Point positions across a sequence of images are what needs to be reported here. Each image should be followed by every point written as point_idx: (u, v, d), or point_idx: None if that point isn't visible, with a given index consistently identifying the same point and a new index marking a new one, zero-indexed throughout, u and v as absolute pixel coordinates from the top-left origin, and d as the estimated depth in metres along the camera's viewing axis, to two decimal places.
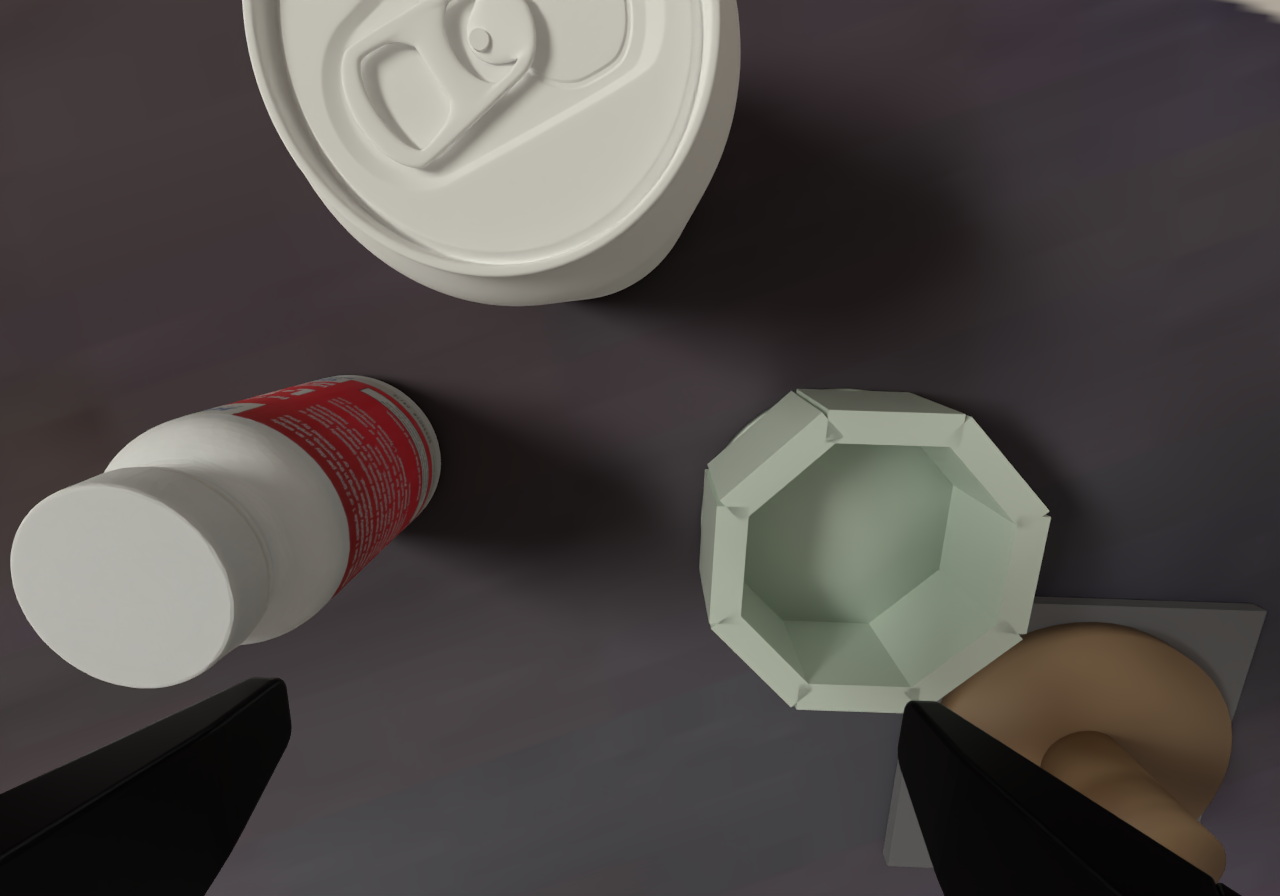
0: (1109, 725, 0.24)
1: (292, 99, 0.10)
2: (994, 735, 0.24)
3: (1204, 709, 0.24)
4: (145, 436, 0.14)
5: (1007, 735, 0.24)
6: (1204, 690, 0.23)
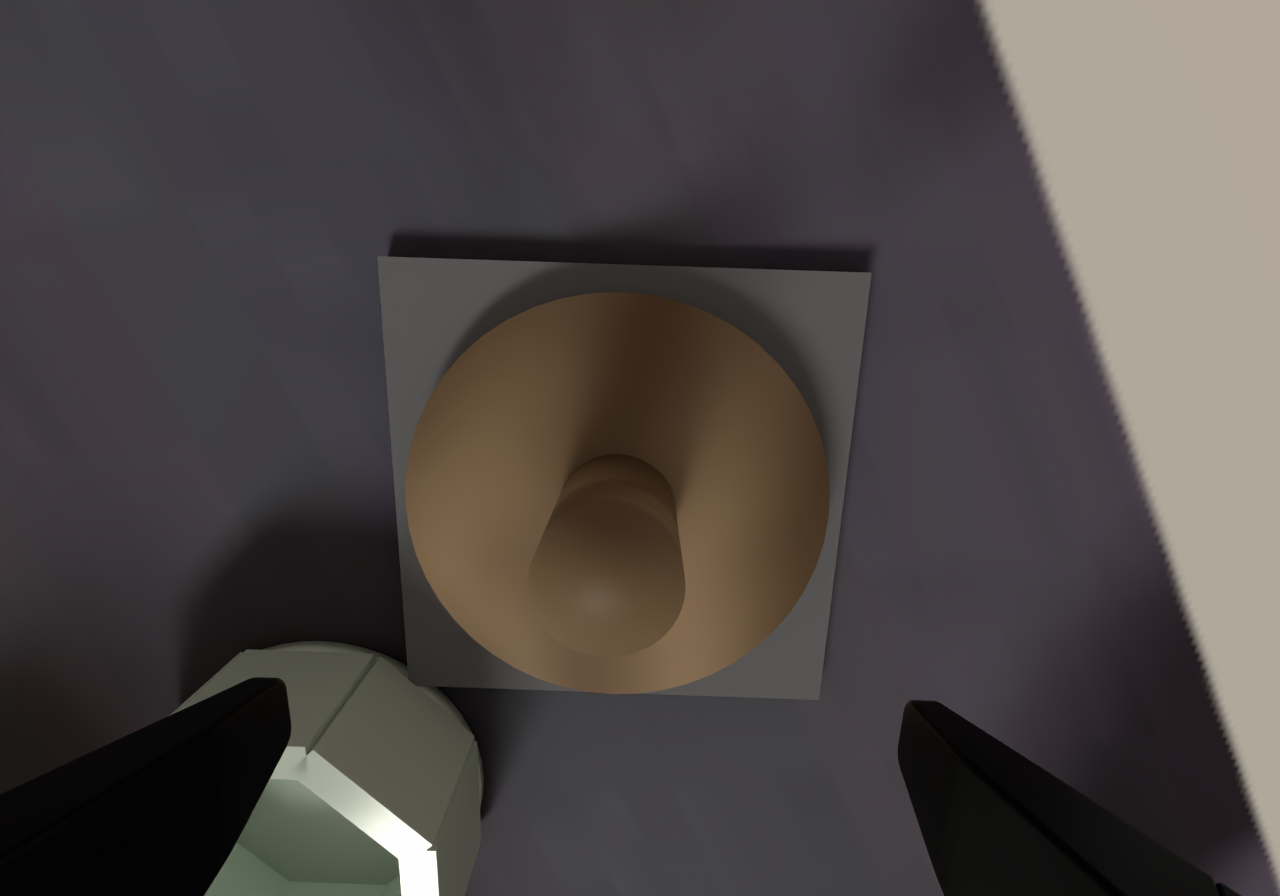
0: (548, 483, 0.16)
1: None
2: None
3: (513, 352, 0.16)
4: None
5: None
6: (481, 361, 0.16)
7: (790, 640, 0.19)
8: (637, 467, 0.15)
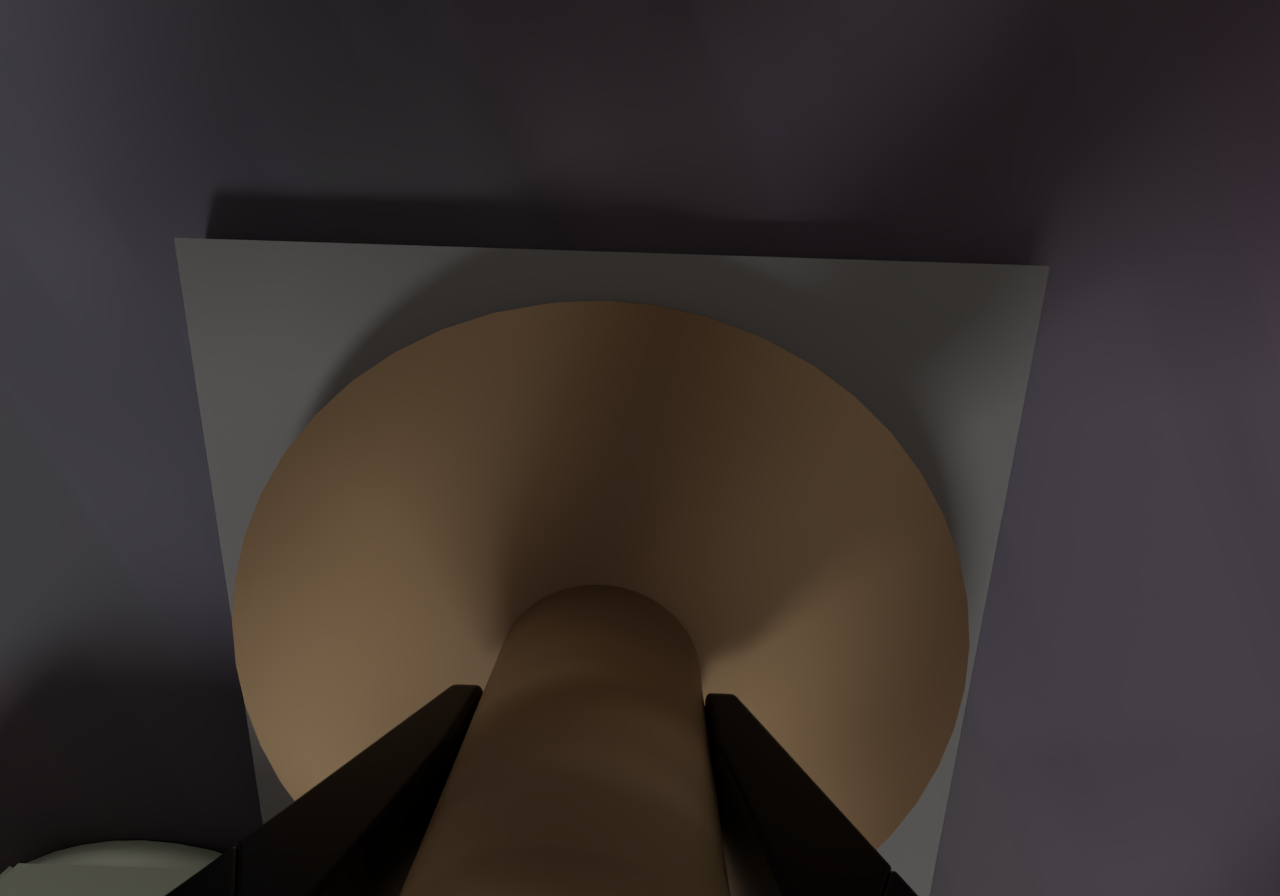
0: (480, 632, 0.10)
1: None
2: None
3: (408, 410, 0.09)
4: None
5: None
6: (352, 427, 0.09)
7: None
8: (633, 622, 0.08)
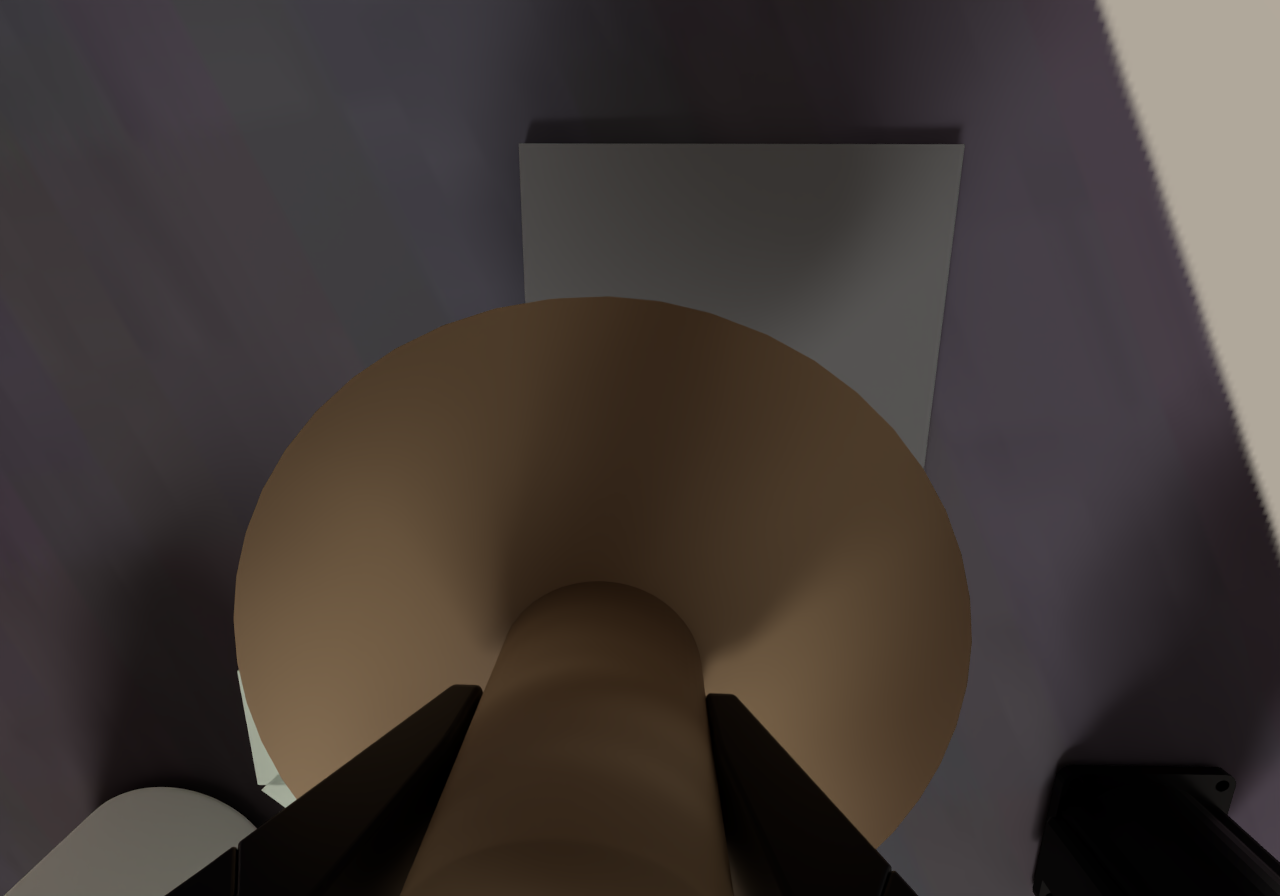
0: (481, 629, 0.09)
1: None
2: None
3: (410, 406, 0.09)
4: None
5: None
6: (353, 422, 0.09)
7: None
8: (635, 618, 0.08)
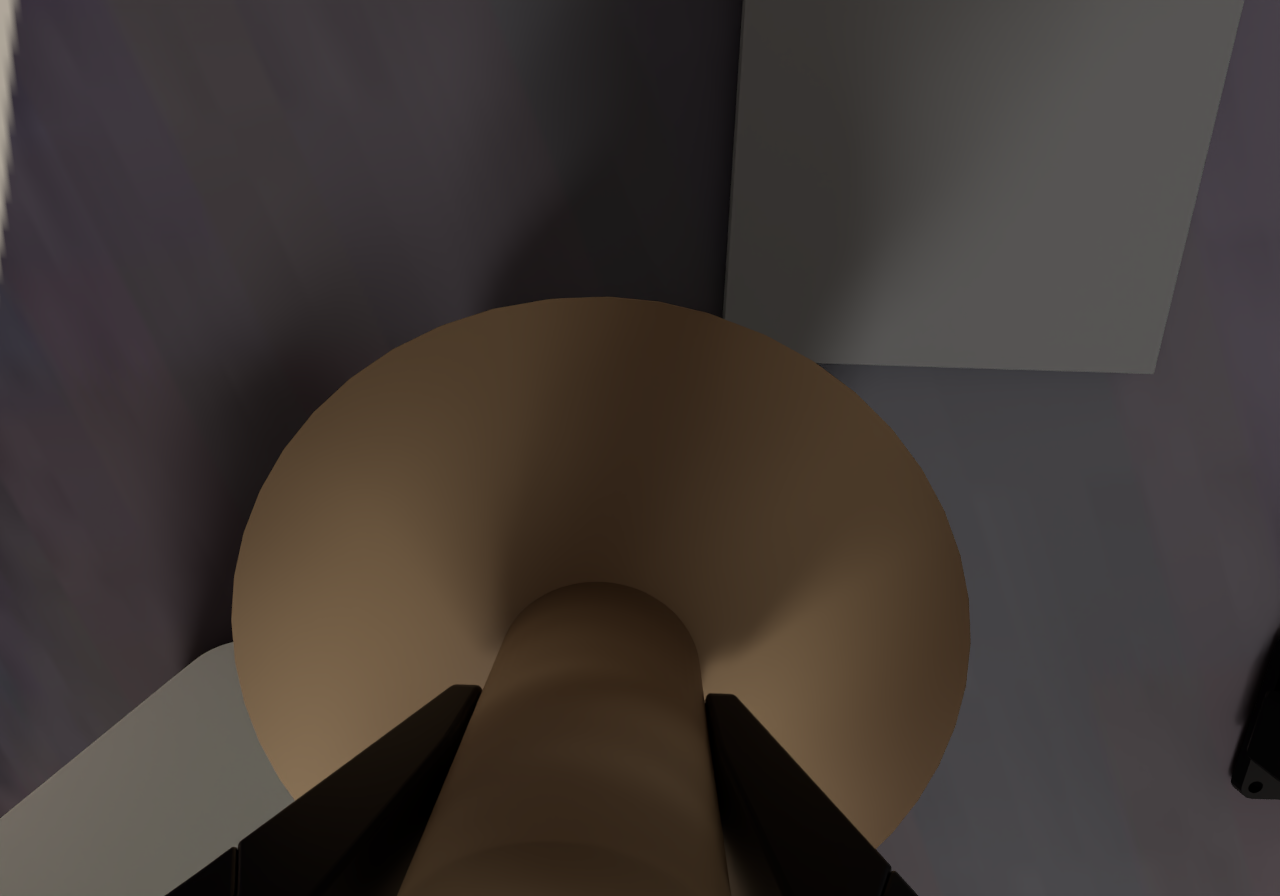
0: (479, 629, 0.09)
1: None
2: None
3: (407, 406, 0.09)
4: None
5: None
6: (351, 422, 0.09)
7: (1133, 302, 0.18)
8: (633, 619, 0.08)
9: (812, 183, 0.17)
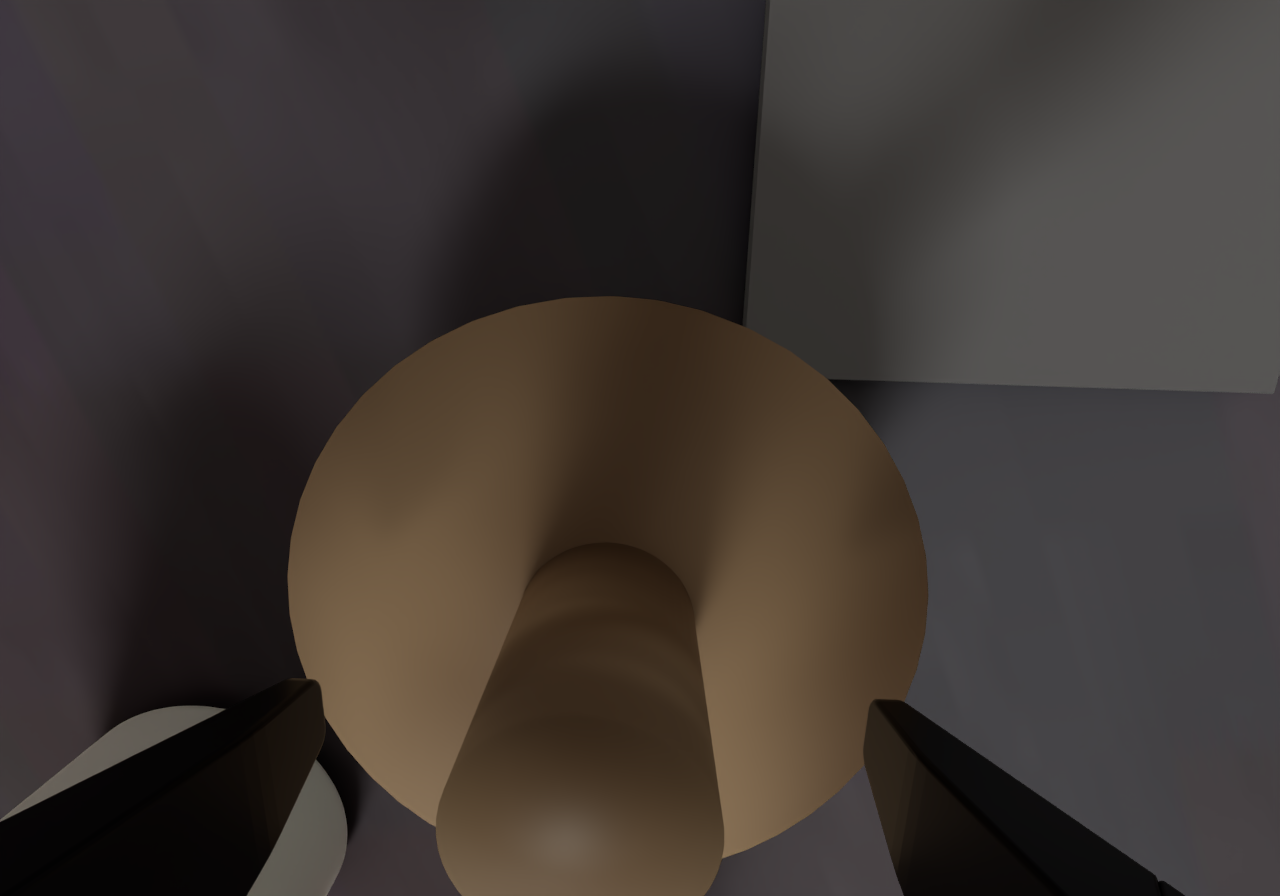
0: (503, 585, 0.11)
1: None
2: None
3: (443, 390, 0.10)
4: None
5: None
6: (395, 404, 0.10)
7: (1252, 305, 0.14)
8: (637, 571, 0.10)
9: (857, 156, 0.14)
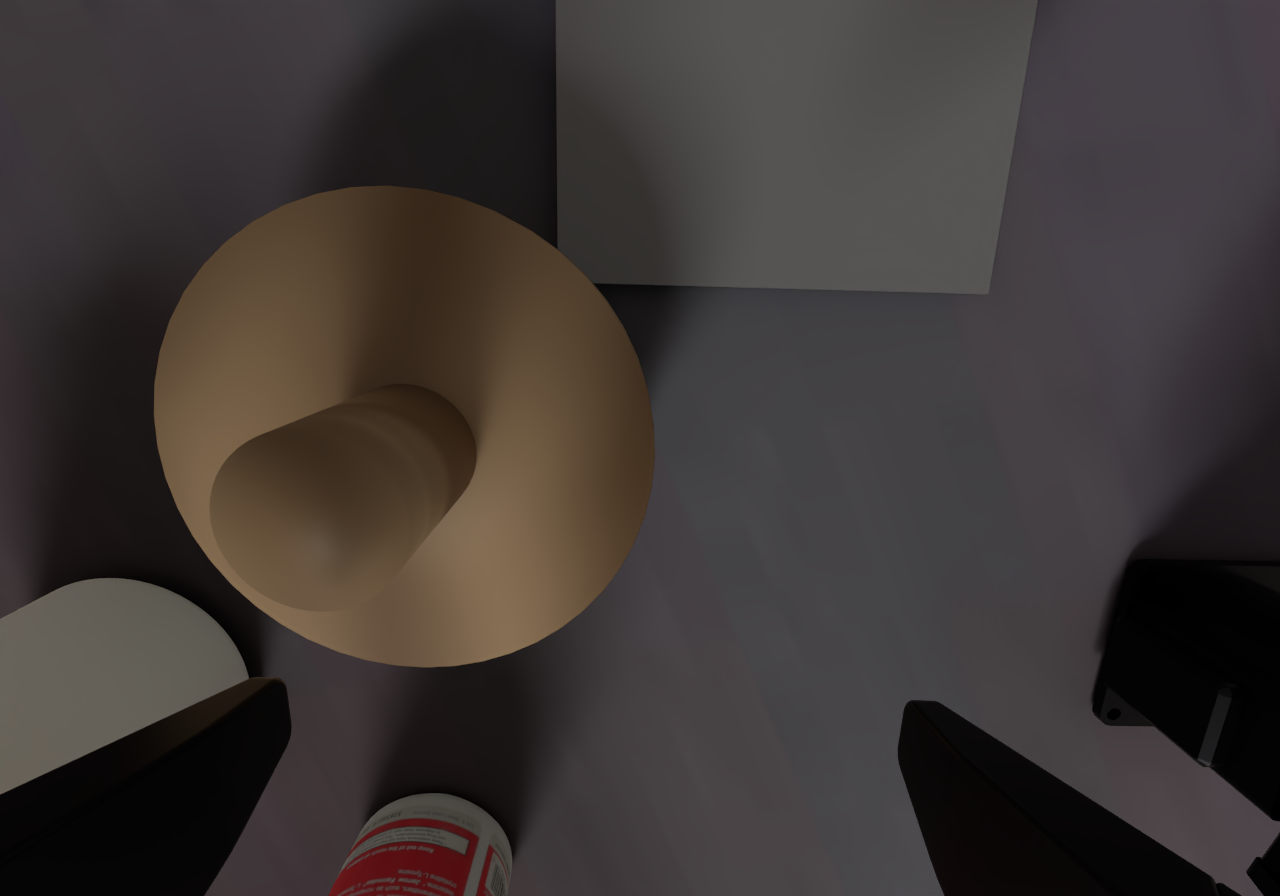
0: None
1: None
2: None
3: (265, 261, 0.13)
4: None
5: None
6: (228, 272, 0.13)
7: (963, 220, 0.18)
8: (412, 395, 0.13)
9: (635, 97, 0.17)
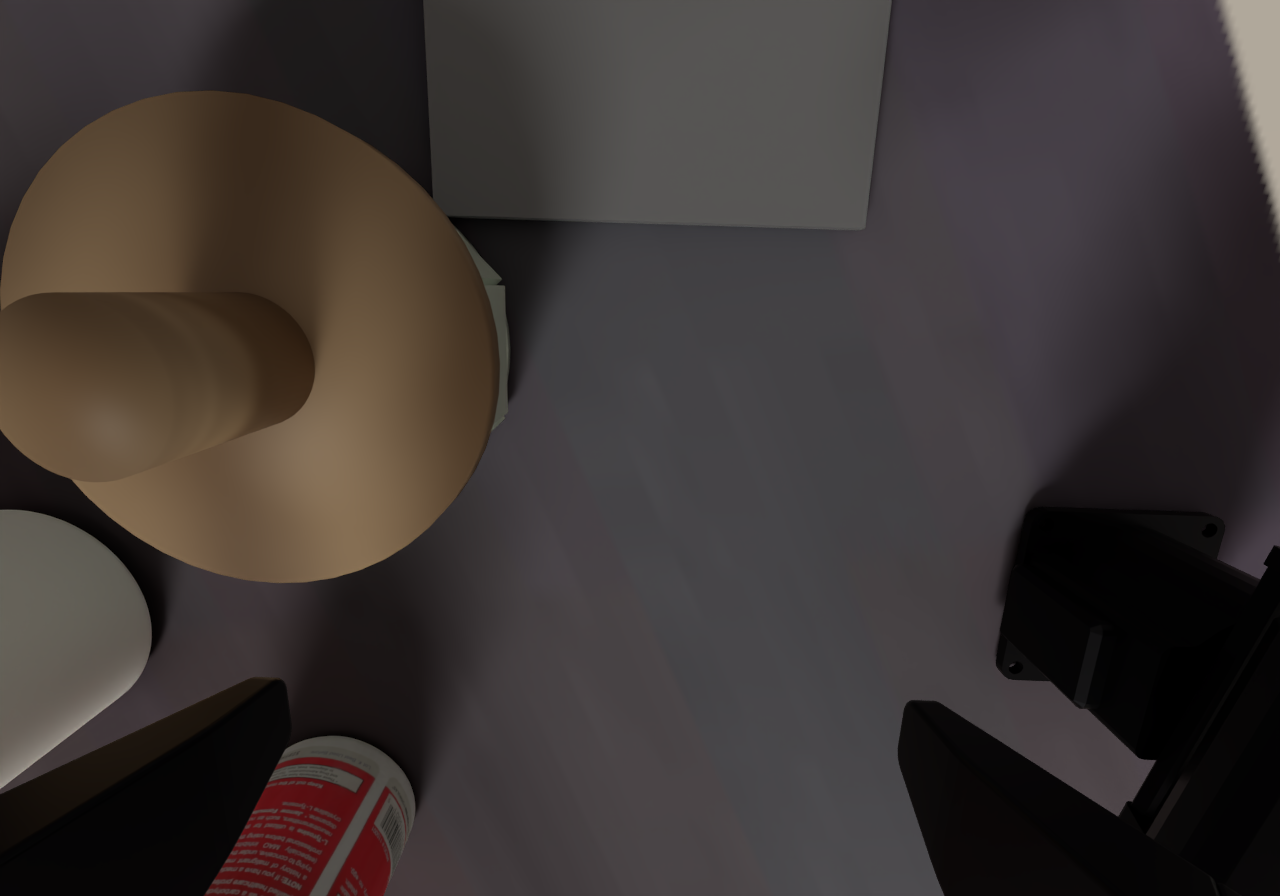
0: None
1: None
2: (217, 505, 0.15)
3: (98, 166, 0.13)
4: None
5: (215, 485, 0.15)
6: (64, 178, 0.14)
7: (836, 152, 0.18)
8: (236, 297, 0.13)
9: (502, 27, 0.17)
